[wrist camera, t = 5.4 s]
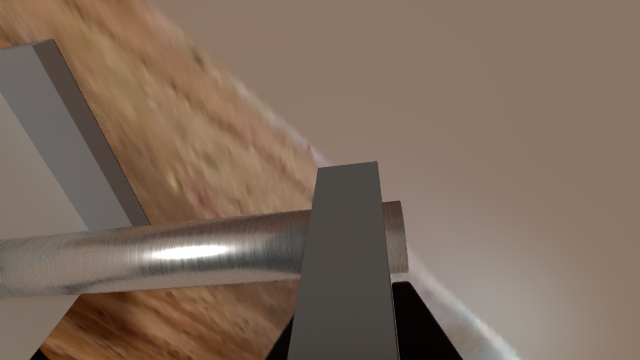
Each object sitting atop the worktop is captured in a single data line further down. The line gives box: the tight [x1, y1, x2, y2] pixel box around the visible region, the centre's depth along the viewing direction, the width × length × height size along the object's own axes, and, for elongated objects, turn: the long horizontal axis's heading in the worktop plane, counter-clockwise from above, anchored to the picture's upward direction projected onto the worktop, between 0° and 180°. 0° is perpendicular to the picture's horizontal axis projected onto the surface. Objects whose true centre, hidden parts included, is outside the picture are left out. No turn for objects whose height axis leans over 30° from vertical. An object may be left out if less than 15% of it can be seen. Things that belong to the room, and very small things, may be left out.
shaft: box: [0, 161, 409, 360], centre depth 10 cm, size 19×5×7 cm, turn 100°
